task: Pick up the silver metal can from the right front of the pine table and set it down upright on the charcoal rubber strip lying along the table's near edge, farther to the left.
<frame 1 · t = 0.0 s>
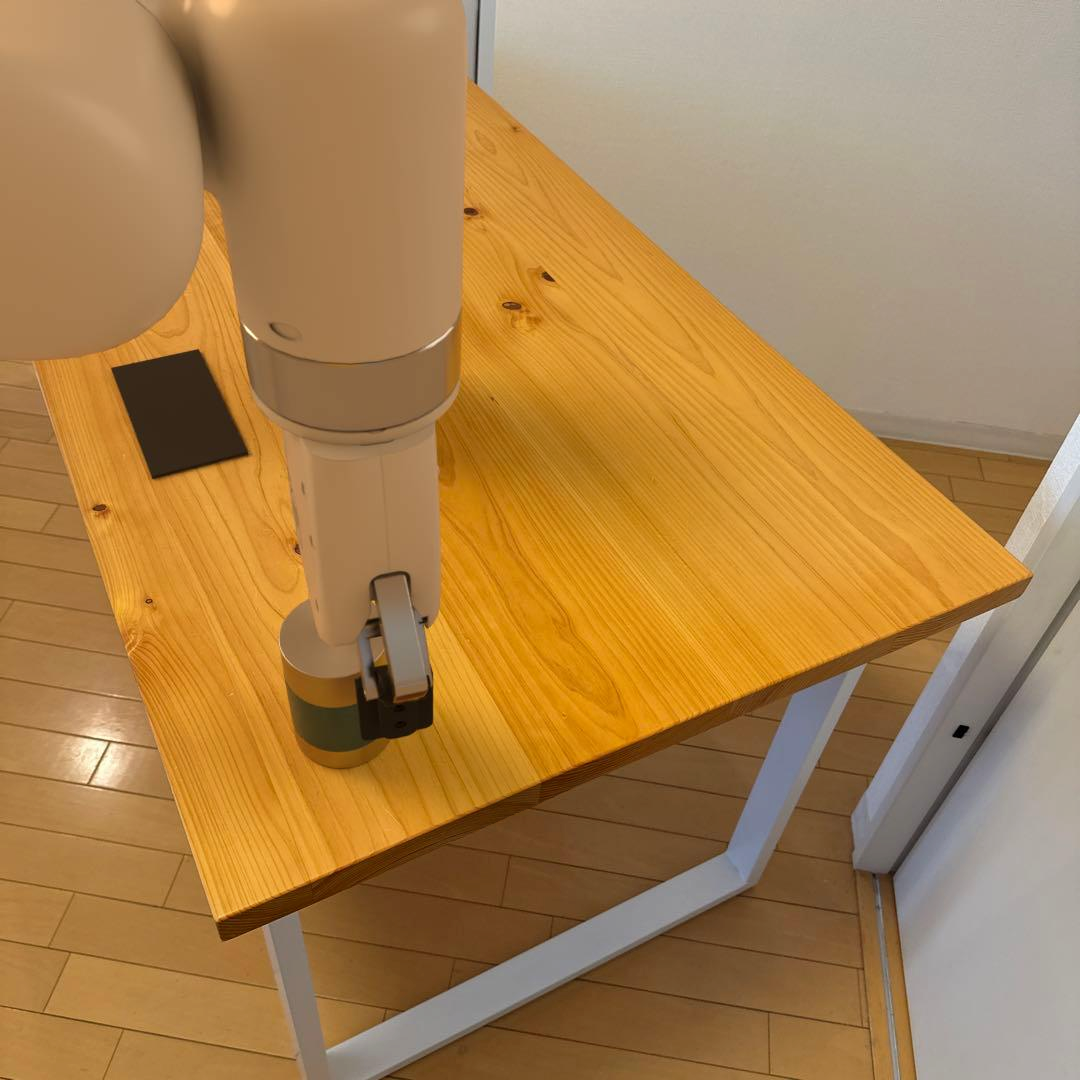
hand: (375, 644, 48), 20 cm above the table, tool pointing down, fingers open, 9 cm apart
planter: (359, 410, 92), on the table
plate: (317, 165, 123), on the table
can: (344, 726, 68), on the table
edge strip: (177, 410, 89), on the table
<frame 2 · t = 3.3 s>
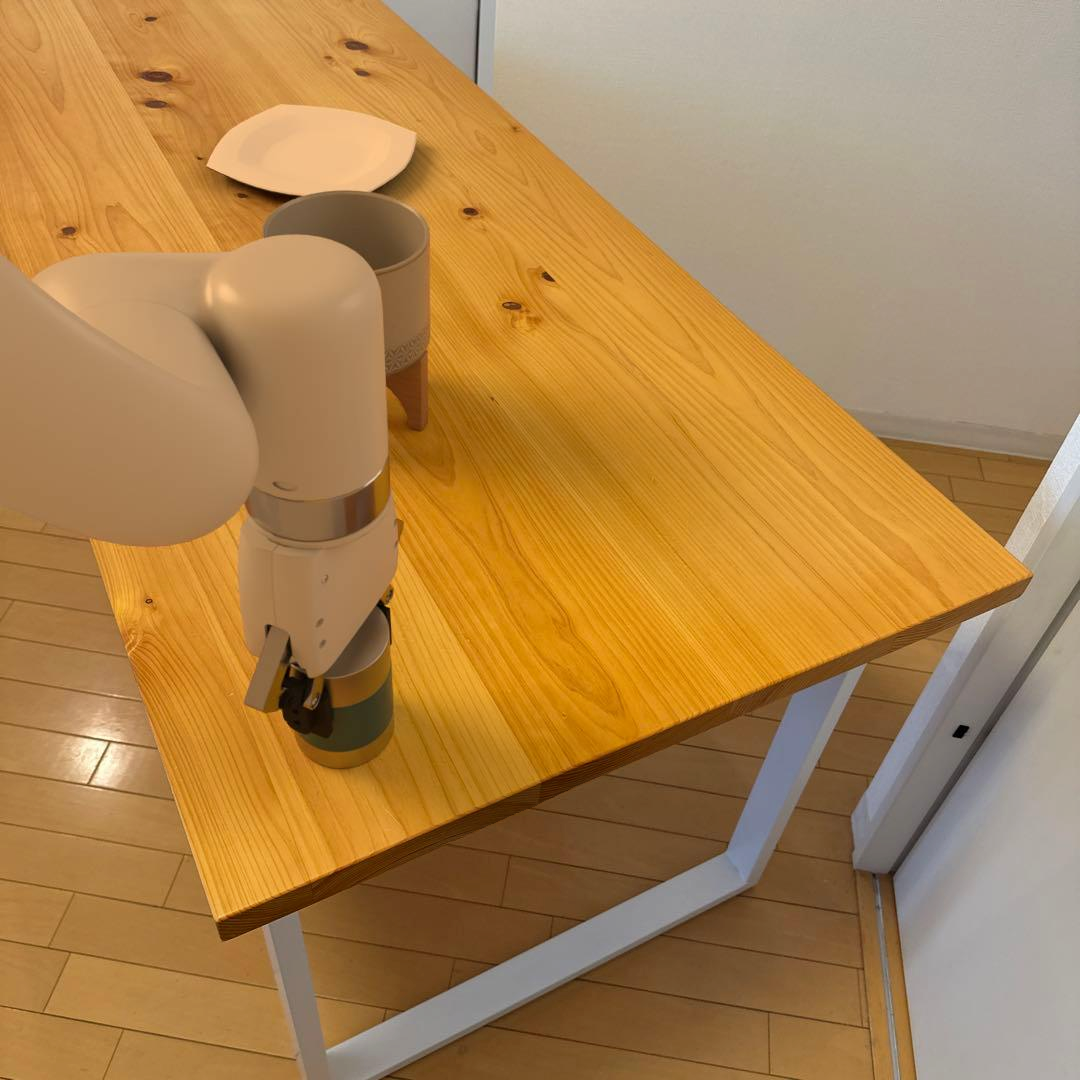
hand: (339, 681, 64), 5 cm above the table, tool pointing down, fingers closed on can, 6 cm apart
can: (344, 726, 68), on the table, touching gripper
everything else where it was.
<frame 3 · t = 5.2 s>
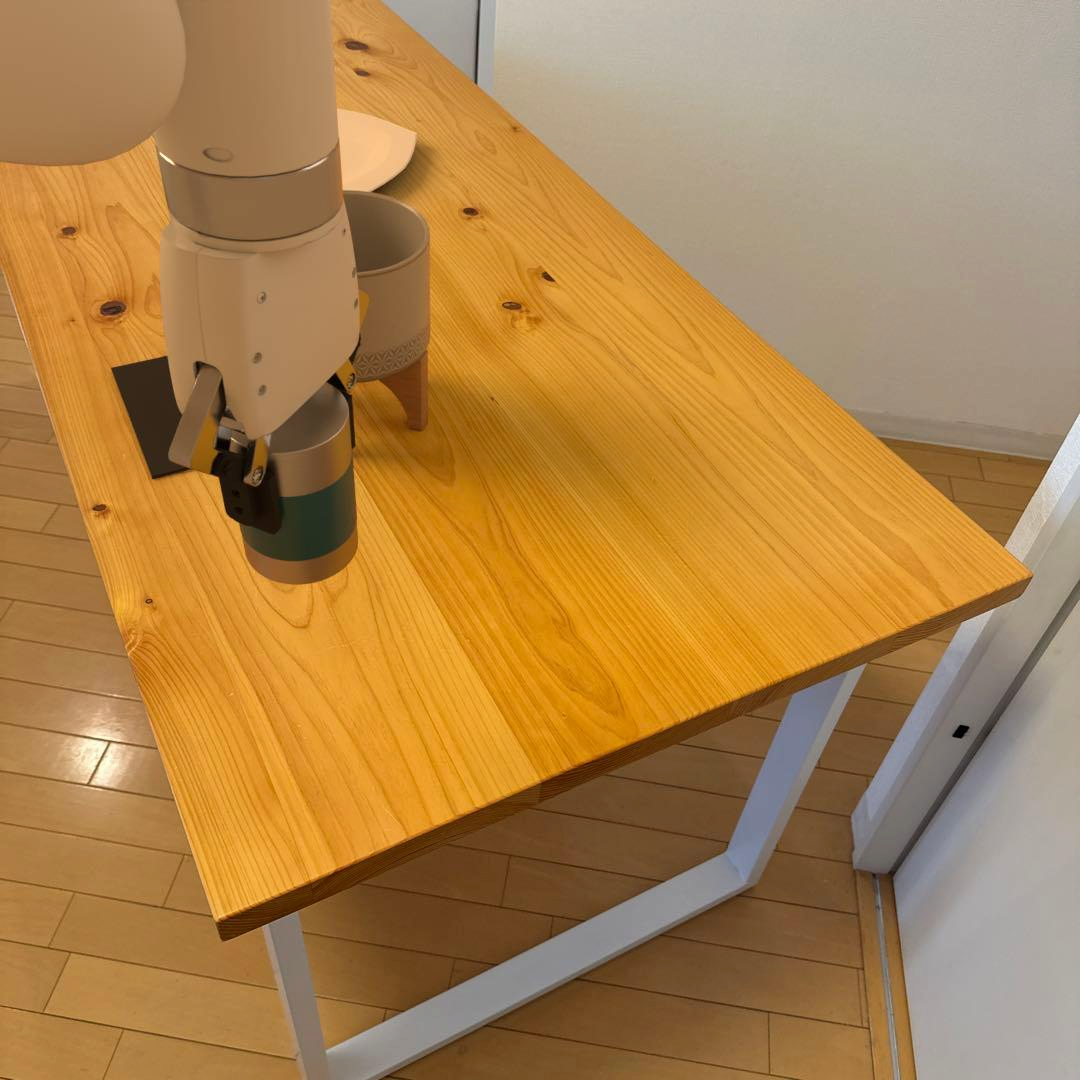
hand: (293, 479, 56), 20 cm above the table, tool pointing down, fingers closed on can, 6 cm apart
can: (302, 543, 60), point 14 cm above the table, touching gripper
everything else where it was.
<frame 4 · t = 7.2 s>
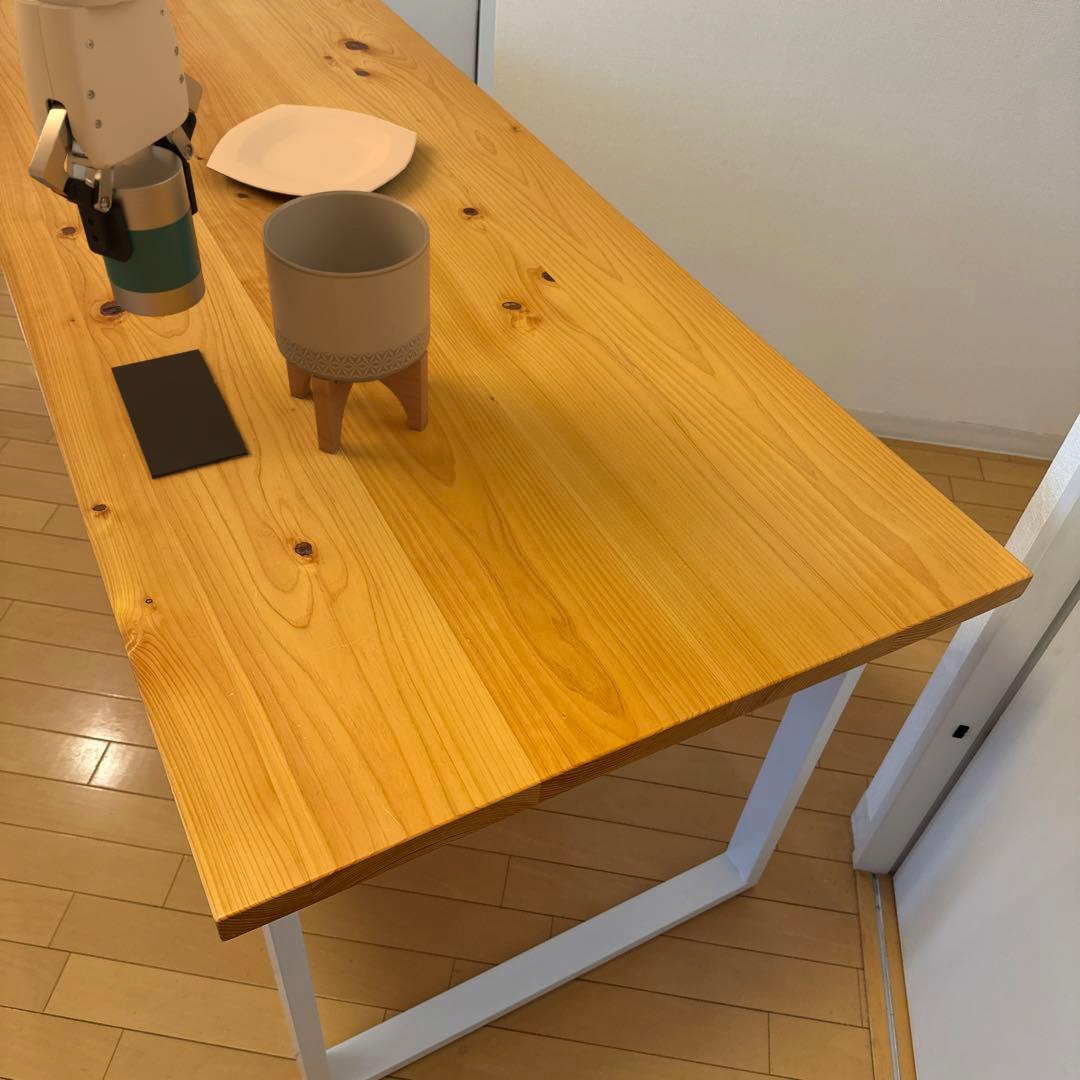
hand: (145, 230, 73), 20 cm above the table, tool pointing down, fingers closed on can, 6 cm apart
can: (160, 292, 76), point 15 cm above the table, touching gripper
everything else where it was.
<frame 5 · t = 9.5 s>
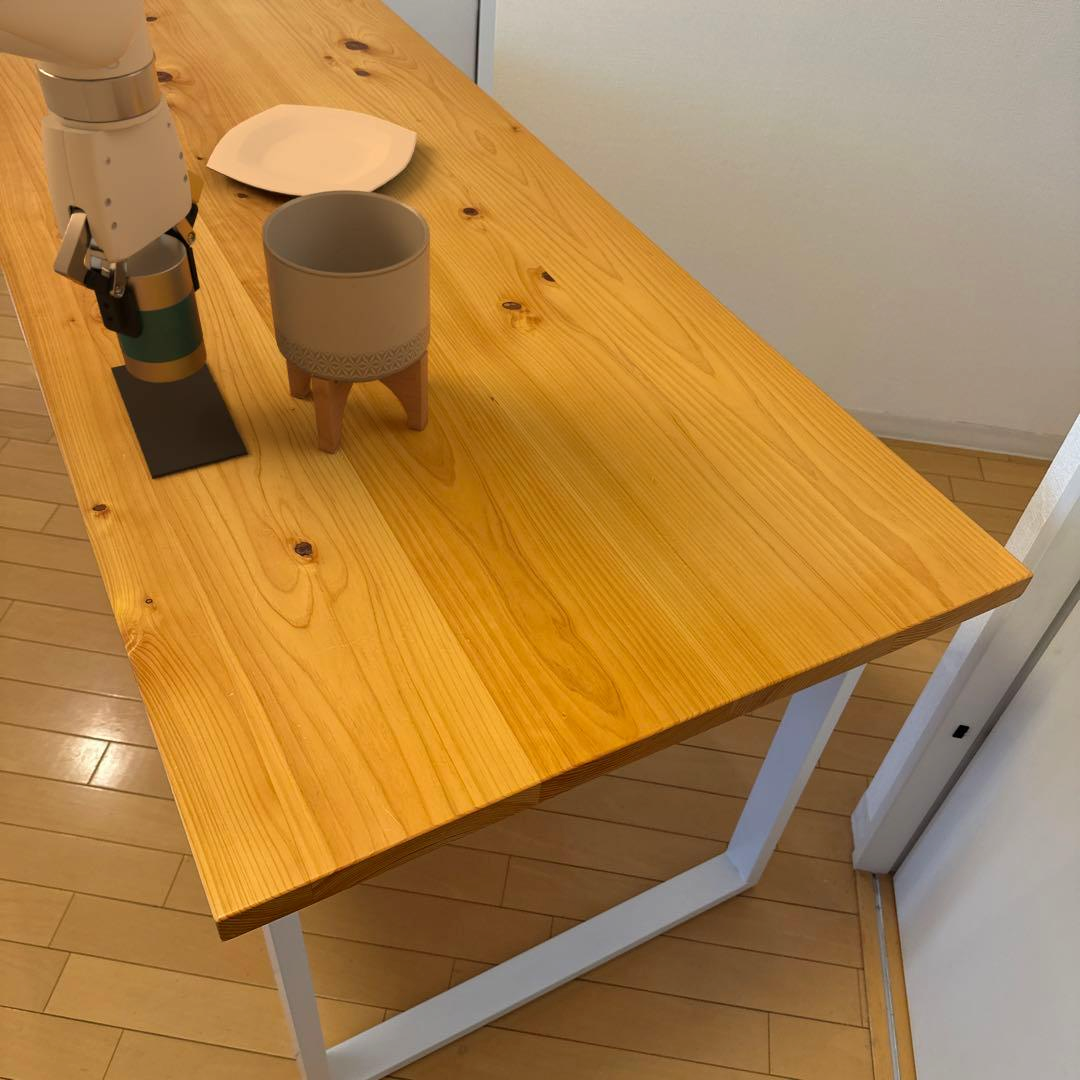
hand: (153, 307, 82), 11 cm above the table, tool pointing down, fingers closed on can, 6 cm apart
can: (166, 359, 85), point 6 cm above the table, touching gripper
everything else where it was.
when the fingers open (5 cm above the table, at t = 11.3 s): can stays where it is, resting on edge strip.
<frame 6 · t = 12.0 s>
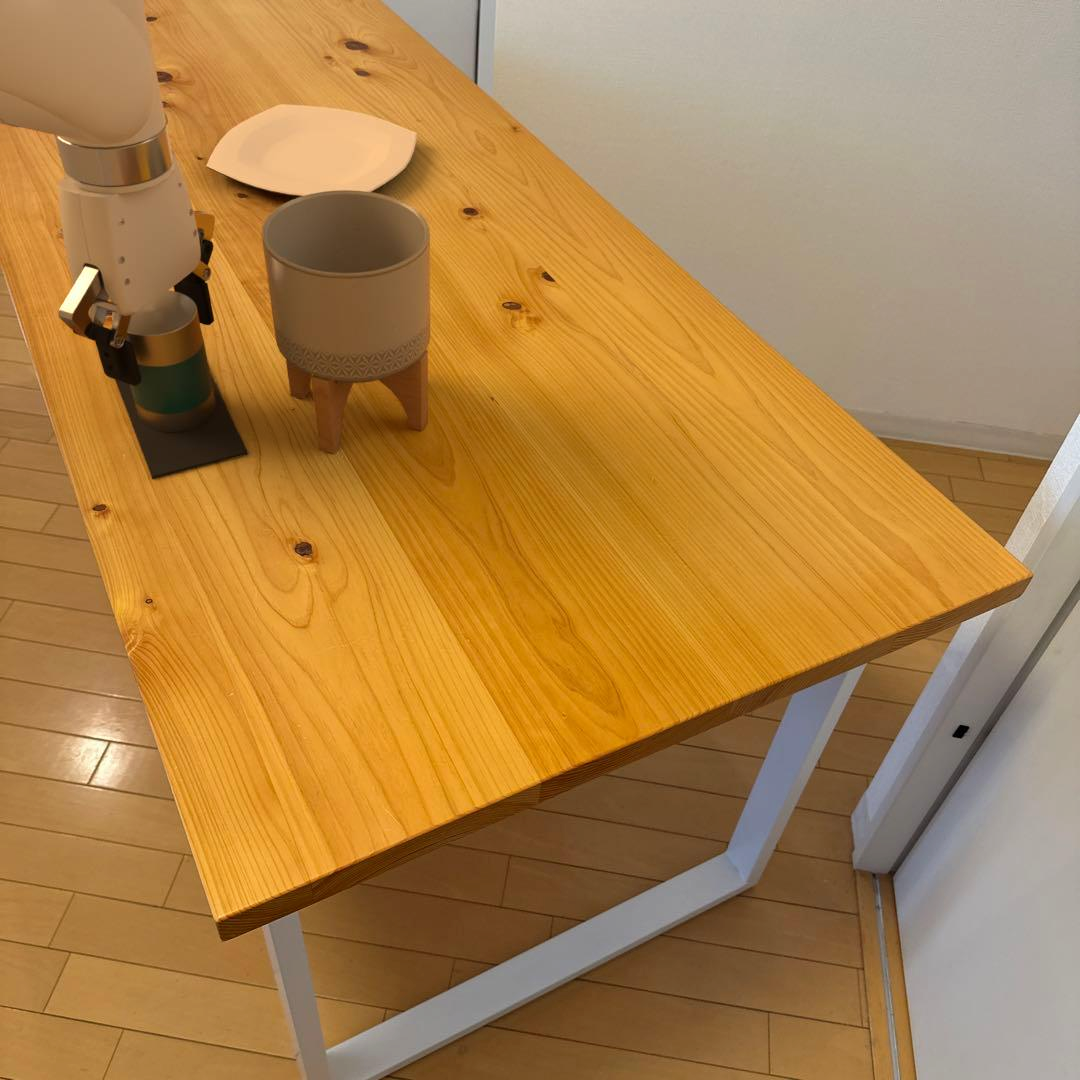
hand: (161, 348, 84), 7 cm above the table, tool pointing down, fingers open, 9 cm apart
can: (177, 408, 89), resting on edge strip
everything else where it was.
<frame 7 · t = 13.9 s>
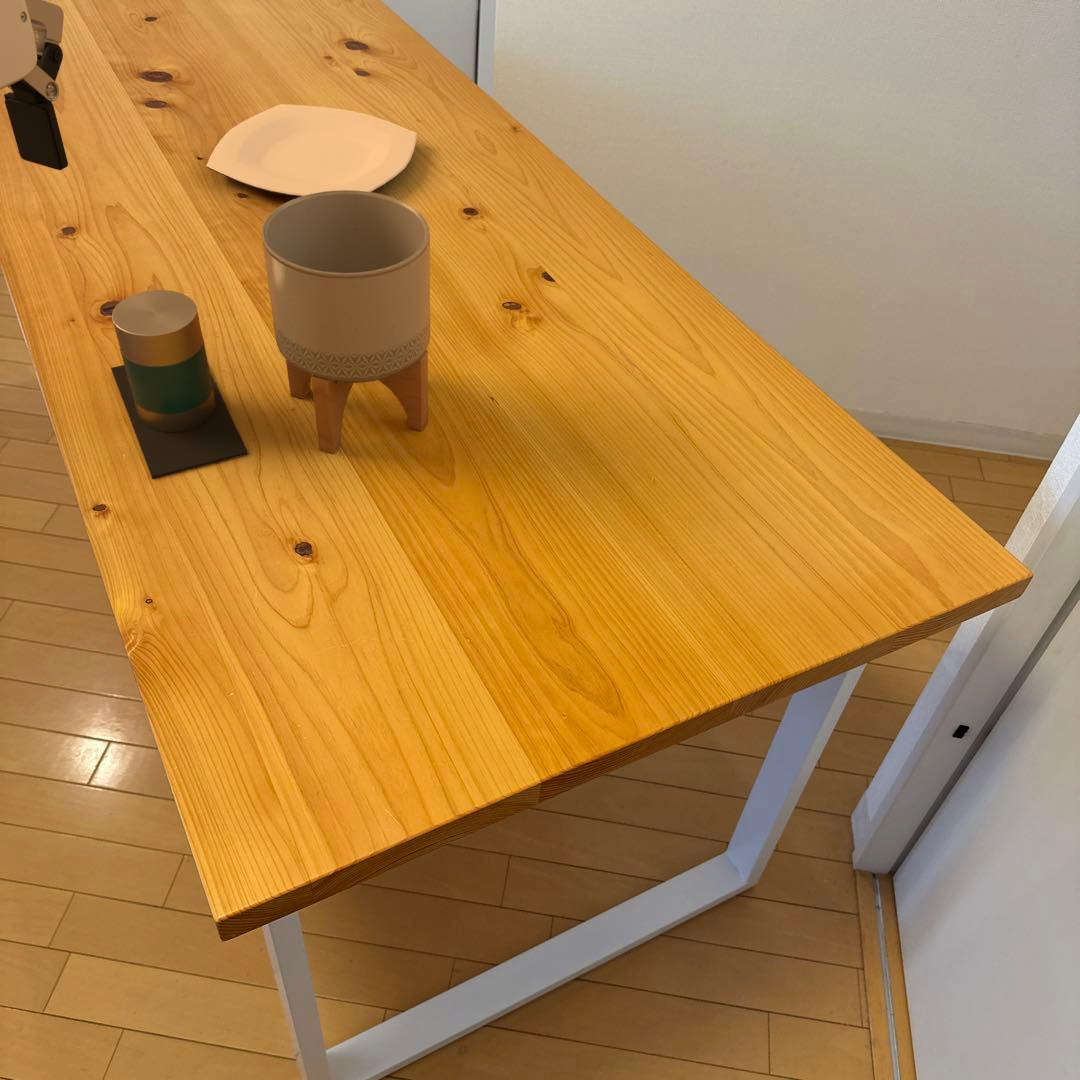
nothing on the table moved.
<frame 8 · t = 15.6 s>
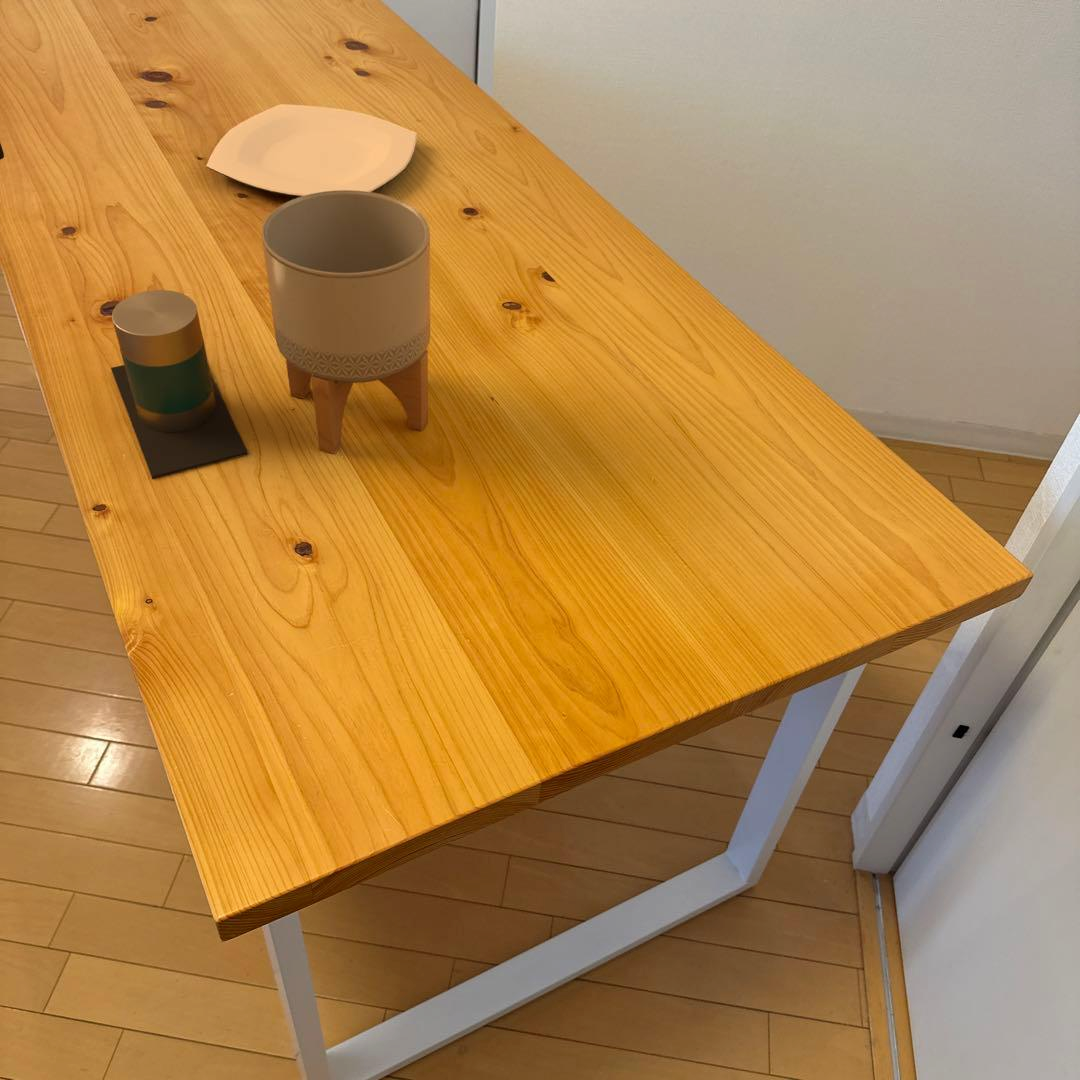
nothing on the table moved.
at the end: can inside the target area on the edge strip (0.1 cm from its centre), point 0.3 cm above the edge strip's base; can tilted 0°; the gripper is holding nothing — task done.
